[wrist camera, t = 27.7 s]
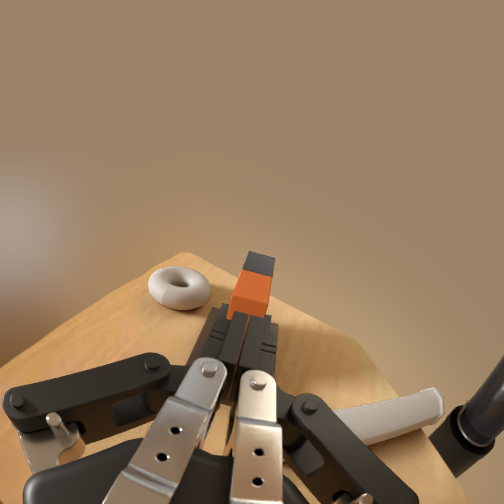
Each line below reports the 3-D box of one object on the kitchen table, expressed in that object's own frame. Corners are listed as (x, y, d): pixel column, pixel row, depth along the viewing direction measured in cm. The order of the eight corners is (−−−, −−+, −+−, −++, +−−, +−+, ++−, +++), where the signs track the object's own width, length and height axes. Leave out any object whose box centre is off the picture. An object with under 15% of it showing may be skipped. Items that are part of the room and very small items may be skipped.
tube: (246, 465, 17) (450, 415, 23) (240, 405, 21) (437, 379, 27) (232, 469, 20) (421, 430, 26) (228, 420, 24) (411, 397, 30)
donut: (212, 288, 49) (157, 274, 48) (216, 270, 48) (159, 257, 47) (204, 321, 40) (138, 304, 39) (208, 302, 38) (139, 284, 37)
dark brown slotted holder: (276, 330, 41) (298, 264, 37) (267, 414, 27) (303, 337, 23) (211, 313, 42) (225, 244, 38) (176, 390, 27) (186, 306, 23)
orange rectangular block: (251, 343, 36) (272, 276, 32) (245, 375, 30) (268, 304, 26) (225, 336, 36) (241, 269, 32) (215, 367, 30) (232, 294, 26)
